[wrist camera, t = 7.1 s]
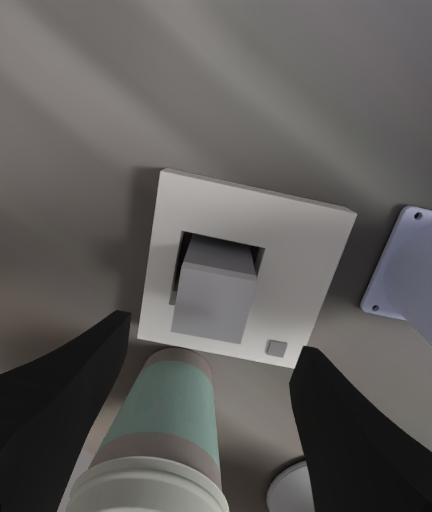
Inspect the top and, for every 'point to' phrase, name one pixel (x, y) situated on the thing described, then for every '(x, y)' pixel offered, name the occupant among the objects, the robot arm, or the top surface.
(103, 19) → the top surface
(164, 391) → the coffee cup
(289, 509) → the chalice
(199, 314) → the plug
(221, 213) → the socket plate
